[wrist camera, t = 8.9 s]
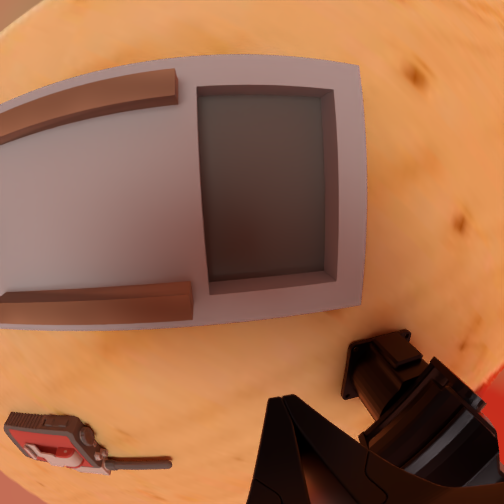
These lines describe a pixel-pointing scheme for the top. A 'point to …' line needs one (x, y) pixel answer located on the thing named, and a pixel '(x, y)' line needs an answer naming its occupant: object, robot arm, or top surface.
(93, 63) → the top surface
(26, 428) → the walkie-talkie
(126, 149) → the deck
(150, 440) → the top surface
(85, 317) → the channel
